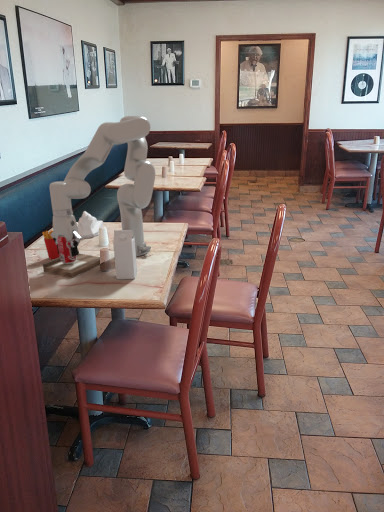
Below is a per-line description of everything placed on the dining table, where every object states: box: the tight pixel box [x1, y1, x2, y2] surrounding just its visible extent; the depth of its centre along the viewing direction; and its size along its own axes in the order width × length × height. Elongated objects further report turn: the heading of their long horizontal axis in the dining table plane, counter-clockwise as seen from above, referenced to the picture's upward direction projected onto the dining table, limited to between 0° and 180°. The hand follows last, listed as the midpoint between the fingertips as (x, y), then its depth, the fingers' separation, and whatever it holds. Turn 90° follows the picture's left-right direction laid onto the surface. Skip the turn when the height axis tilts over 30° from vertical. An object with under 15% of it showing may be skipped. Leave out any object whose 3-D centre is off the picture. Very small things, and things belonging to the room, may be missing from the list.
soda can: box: [57, 235, 77, 264], centre depth 185 cm, size 7×7×12 cm
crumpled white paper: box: [77, 210, 104, 240], centre depth 234 cm, size 12×15×14 cm
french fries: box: [42, 229, 59, 260], centre depth 201 cm, size 9×4×13 cm, turn 102°
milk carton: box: [112, 229, 138, 280], centre depth 175 cm, size 7×7×19 cm
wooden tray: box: [42, 249, 101, 279], centre depth 190 cm, size 16×20×4 cm
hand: (68, 254), depth 186 cm, fingers closed on soda can, 7 cm apart
